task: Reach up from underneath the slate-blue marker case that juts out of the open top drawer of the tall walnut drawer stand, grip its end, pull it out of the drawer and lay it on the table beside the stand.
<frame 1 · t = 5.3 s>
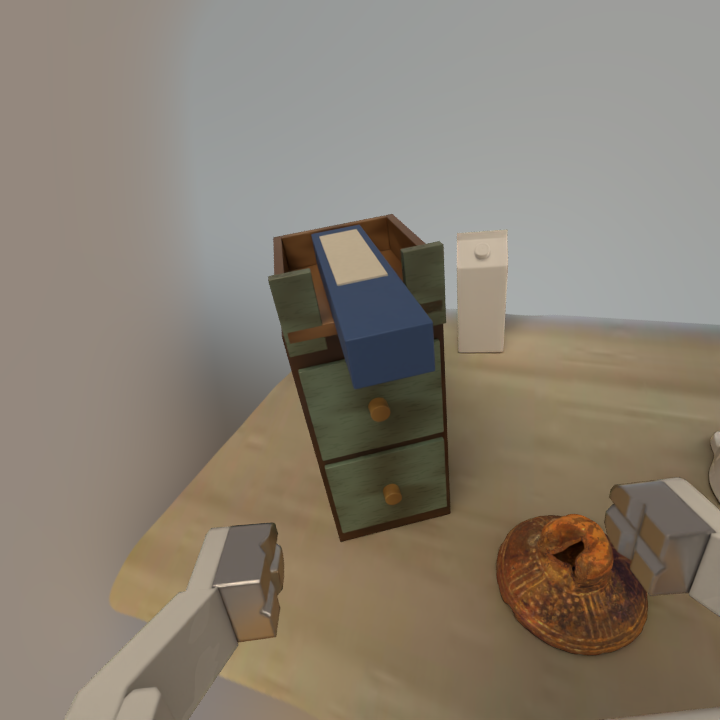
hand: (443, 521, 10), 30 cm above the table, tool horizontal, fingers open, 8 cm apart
milk carton: (479, 342, 71), on the table
bell: (564, 584, 37), on the table
drawer stand: (385, 490, 48), on the table
marker case: (360, 304, 30), point 26 cm above the table, touching drawer stand
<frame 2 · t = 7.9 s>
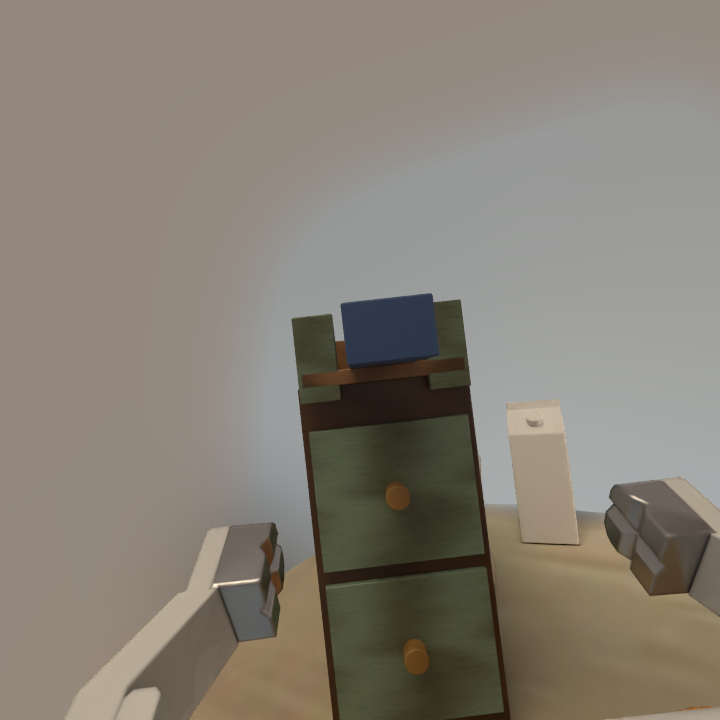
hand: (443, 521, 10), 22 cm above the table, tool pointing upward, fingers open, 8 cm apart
milk carton: (549, 535, 59), on the table
drawer stand: (414, 690, 33), on the table
marker case: (381, 365, 29), point 26 cm above the table, touching drawer stand
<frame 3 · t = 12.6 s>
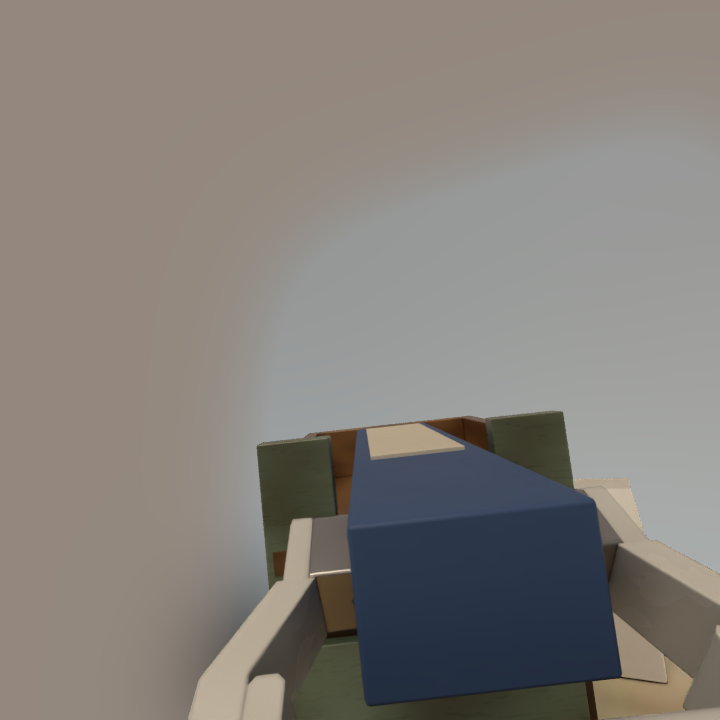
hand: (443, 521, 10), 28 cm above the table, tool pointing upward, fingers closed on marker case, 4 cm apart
milk carton: (619, 658, 45), on the table
marker case: (416, 519, 17), point 26 cm above the table, touching drawer stand, gripper
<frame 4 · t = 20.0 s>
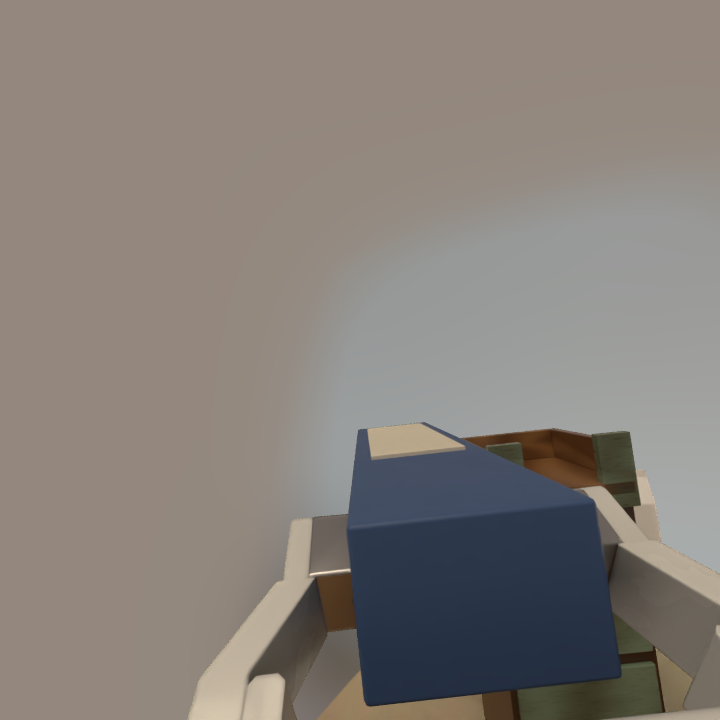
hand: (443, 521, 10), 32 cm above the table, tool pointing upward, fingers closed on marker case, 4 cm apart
milk carton: (637, 598, 62), on the table
marker case: (417, 519, 17), point 30 cm above the table, touching gripper
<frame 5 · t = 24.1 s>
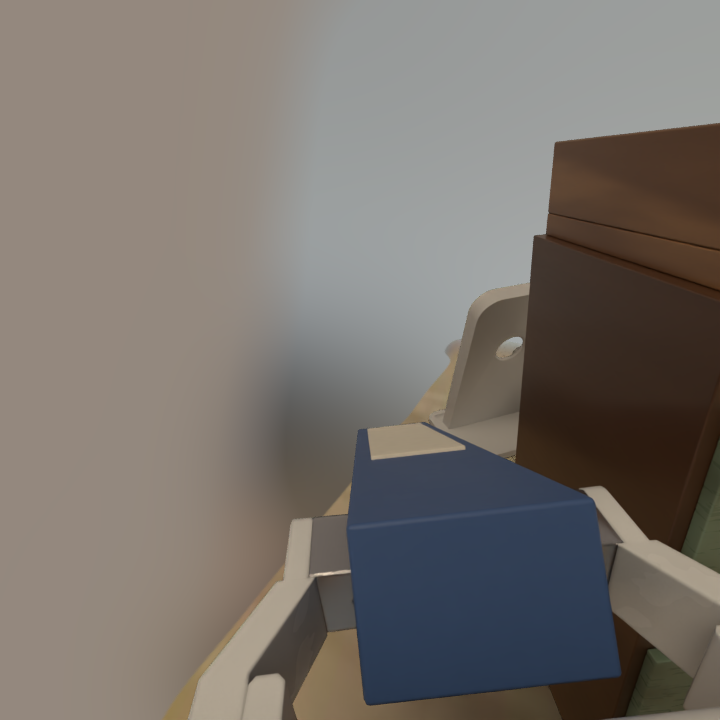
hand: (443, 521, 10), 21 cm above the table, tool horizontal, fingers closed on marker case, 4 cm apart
phone holder: (512, 425, 48), on the table
drawer stand: (642, 665, 25), on the table
marker case: (417, 518, 17), point 16 cm above the table, tilted 30°, touching gripper
when the fingers open (10 cm above the table, at t = 27.5 s): marker case drops 5 cm, on the table.
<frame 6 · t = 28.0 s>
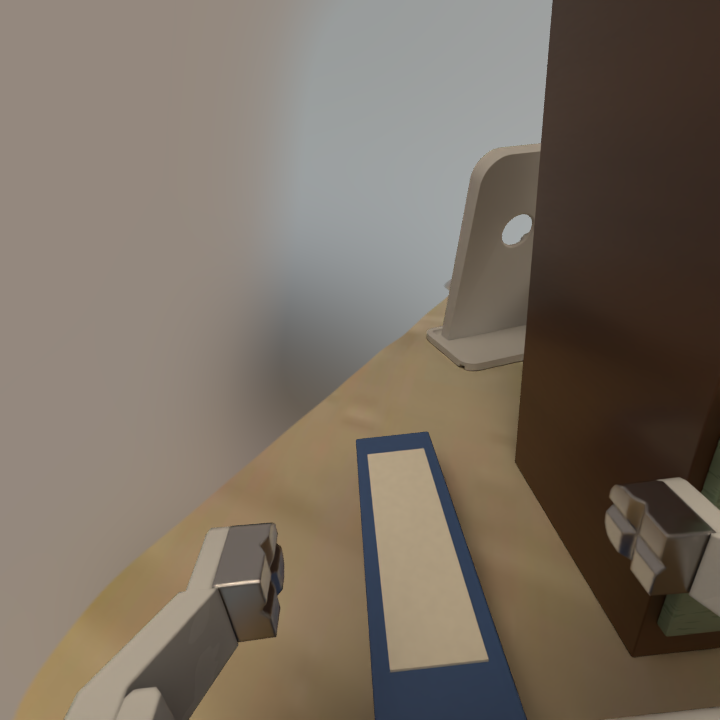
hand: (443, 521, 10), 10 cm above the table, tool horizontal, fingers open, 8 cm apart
phone holder: (518, 338, 43), on the table
drawer stand: (687, 534, 20), on the table
marker case: (424, 630, 17), on the table
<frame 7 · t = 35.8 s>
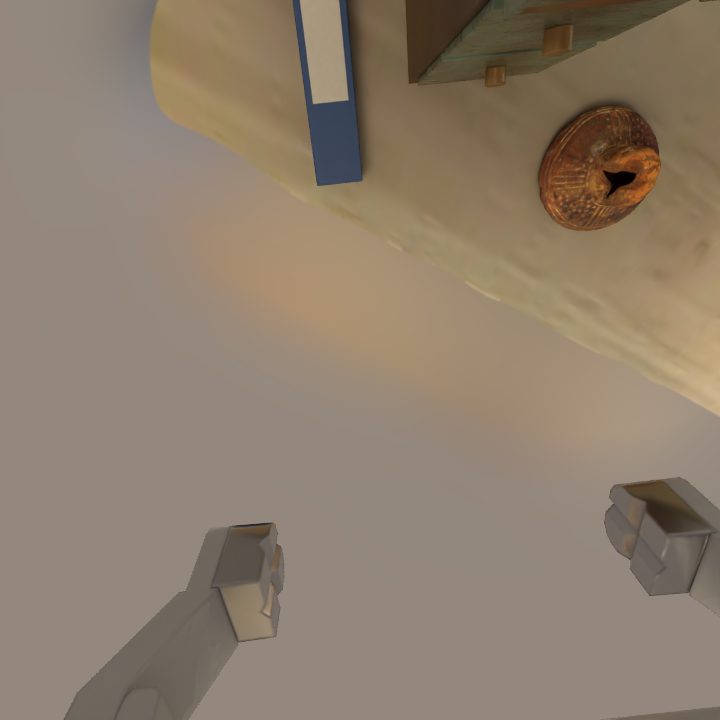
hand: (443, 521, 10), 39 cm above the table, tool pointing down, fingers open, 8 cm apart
bell: (591, 171, 43), on the table
drawer stand: (472, 11, 37), on the table
marker case: (327, 69, 38), on the table
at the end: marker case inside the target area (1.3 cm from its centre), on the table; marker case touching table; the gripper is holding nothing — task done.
